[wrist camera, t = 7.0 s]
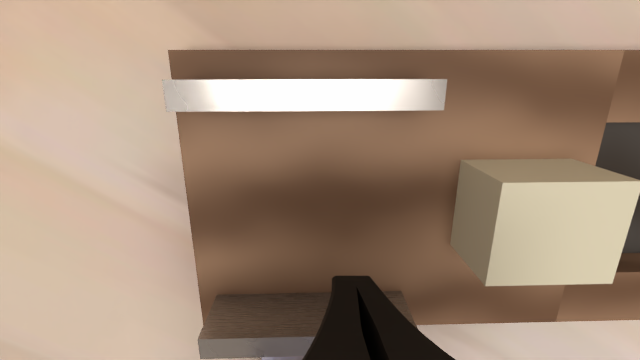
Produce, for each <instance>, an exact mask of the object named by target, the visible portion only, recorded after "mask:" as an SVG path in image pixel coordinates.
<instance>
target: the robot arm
mask: <svg viewBox="0 0 640 360" xmlns="http://www.w3.org/2000/svg"><path fill="white" fill-rule="evenodd" d="M261 358H262V360H455V359H454V358H452V357H451V356H450V355H448V354H447V353H446V352H444V351H443V350H442V349H440V348H439V347H438V346H437V345H435V344H434V343H433V342H432V341H431V340H429V339H428V338H427V337H426V336H425V335H423V334H422V333H421V332H420V331H419V330H418V329H417V328H416V327H415V326H414V325H413V324H412V323H410V322H409V321H408V320H407V318H406V317H405V316H404V315H403V314H402V313H401V312H400V311H399V310H398V309H397V308H396V307H395V306H394V305H393V303H392V302H391V301H390V300H389V299H388V298H387V297H386V295H385V294H384V293H383V292H382V291H381V289H380V288H379V287H378V286H377V284H376V283H375V282H374V281H373V279H372V278H371V277H370V276H334V277H333V278H332V291H331V296H330V300H329V303H328V306H327V310H326V313H325V315H324V318H323V320H322V323H321V325H320V327H319V330H318V332H317V334H316V336H315V338H314V340H313V342H312V344H311V346H310V347H309V349H308V351H307V353H306V354H305V356H292V357H261Z"/></svg>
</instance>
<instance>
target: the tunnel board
mask: <svg viewBox="0 0 640 360" xmlns="http://www.w3.org/2000/svg"><path fill="white" fill-rule="evenodd" d="M168 54H169V61H170V69H171V77H172V80H173V79H447V87H446V96H445V105H444V110H420V111H214V112H176V116H177V123H178V131H179V139H180V147H181V154H182V162H183V170H184V178H185V185H186V193H187V201H188V209H189V216H190V224H191V232H192V240H193V247H194V255H195V263H196V271H197V278H198V286H199V294H200V302H201V309H202V317H203V325H204V323H205V321H206V319H207V316H208V314H209V312H210V309H211V307H212V305H213V302H214V300H215V298H216V295H226V294H275V293H325V292H331V291H332V278H333V277H334V276H370V277H371V278H372V279H373V281H374V282H375V283H376V284H377V286H378V287H379V288H380V289H381V291H402V294H403V296H404V298H405V301H406V303H407V305H408V308H409V310H410V312H411V315H412V317H413V319H414V322H415V324H416V325H432V324H475V323H518V322H562V321H605V320H640V194H639V197H638V200H637V204H636V207H635V210H634V214H633V217H632V220H631V224H630V227H629V230H628V234H627V237H626V240H625V243H624V247H623V250H622V253H621V257H620V260H619V263H618V267H617V270H616V273H615V277H614V280H613V283H612V284H573V285H524V286H485V285H484V284H483V283H482V282H481V281H480V279H479V278H478V277H477V276H476V275H475V273H474V272H473V271H472V270H471V269H470V267H469V266H468V265H467V264H466V263H465V261H464V260H463V259H462V258H461V257H460V256H459V254H458V253H457V252H456V251H455V250H454V248H453V247H452V246H451V245H450V242H451V234H452V226H453V218H454V210H455V202H456V195H457V187H458V179H459V171H460V163H461V160H491V159H574V160H577V161H581V162H584V163H587V164H590V165H593V166H596V167H600V168H603V169H606V170H609V171H612V172H616V173H619V174H622V175H625V176H628V177H631V178H635V179H638V180H640V50H168Z"/></svg>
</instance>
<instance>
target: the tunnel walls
mask: <svg viewBox="0 0 640 360" xmlns="http://www.w3.org/2000/svg"><path fill="white" fill-rule="evenodd" d="M162 84H163V91H164V98H165V105H166V112H214V111H420V110H444V105H445V96H446V87H447V79H173V80H162ZM382 292H383V293H384V294H385V295H386V297H387V298H388V299H389V300H390V301H391V302H392V303H393V305H394V306H395V307H396V308H397V309H398V310H399V311H400V312H401V313H402V314H403V315H404V316H405V317H406V318H407V320H408V321H409V322H410V323H412V324H413V325H414V326H415V327H416V328H417V326H416V324H415V322H414V319H413V317H412V315H411V312H410V310H409V308H408V305H407V303H406V301H405V298H404V296H403V294H402V291H382ZM330 296H331V292H325V293H275V294H226V295H216V298H215V300H214V302H213V305H212V307H211V309H210V312H209V314H208V316H207V319H206V321H205V323H204V326H203V328H202V330H201V333H200V335H199V338H198V345H199V353H200V359H214V358H253V357H292V356H305V354H306V353H307V351H308V349H309V347H310V346H311V344H312V342H313V340H314V338H315V336H316V334H317V332H318V330H319V327H320V325H321V323H322V320H323V318H324V315H325V313H326V310H327V306H328V303H329V300H330Z"/></svg>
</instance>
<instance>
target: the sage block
mask: <svg viewBox="0 0 640 360" xmlns="http://www.w3.org/2000/svg"><path fill="white" fill-rule="evenodd" d="M639 194H640V180H638V179H635V178H631V177H628V176H625V175H622V174H619V173H616V172H612V171H609V170H606V169H603V168H600V167H596V166H593V165H590V164H587V163H584V162H581V161H577V160H574V159H491V160H461V163H460V171H459V179H458V187H457V195H456V202H455V210H454V218H453V226H452V234H451V242H450V245H451V246H452V247H453V248H454V250H455V251H456V252H457V253H458V254H459V256H460V257H461V258H462V259H463V260H464V261H465V263H466V264H467V265H468V266H469V267H470V269H471V270H472V271H473V272H474V273H475V275H476V276H477V277H478V278H479V279H480V281H481V282H482V283H483V284H484V285H485V286H524V285H573V284H612V283H613V280H614V277H615V273H616V270H617V267H618V263H619V260H620V257H621V253H622V250H623V247H624V243H625V240H626V237H627V234H628V230H629V227H630V224H631V220H632V217H633V214H634V210H635V207H636V204H637V200H638V197H639Z"/></svg>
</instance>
